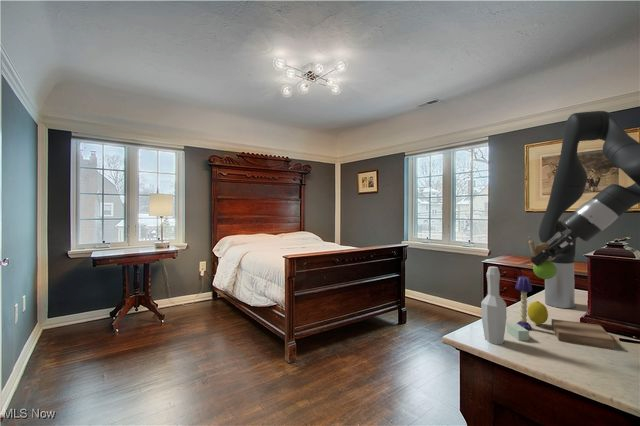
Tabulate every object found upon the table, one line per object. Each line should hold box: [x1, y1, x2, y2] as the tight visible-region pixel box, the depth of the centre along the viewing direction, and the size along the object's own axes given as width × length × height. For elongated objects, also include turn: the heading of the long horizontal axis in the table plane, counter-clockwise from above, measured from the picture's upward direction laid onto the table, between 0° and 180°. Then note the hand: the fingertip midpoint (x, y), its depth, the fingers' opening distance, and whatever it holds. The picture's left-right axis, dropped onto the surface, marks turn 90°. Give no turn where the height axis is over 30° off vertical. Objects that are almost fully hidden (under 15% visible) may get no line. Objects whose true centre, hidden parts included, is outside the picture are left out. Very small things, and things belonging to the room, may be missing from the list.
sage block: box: [506, 322, 530, 341], centre depth 93 cm, size 6×3×3 cm, turn 178°
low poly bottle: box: [480, 266, 508, 345], centre depth 90 cm, size 6×6×22 cm
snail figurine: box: [528, 235, 557, 280], centre depth 86 cm, size 5×6×12 cm
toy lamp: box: [514, 275, 533, 331], centre depth 98 cm, size 5×5×17 cm
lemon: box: [527, 300, 549, 326], centre depth 100 cm, size 6×6×8 cm
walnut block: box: [551, 318, 615, 350], centre depth 91 cm, size 12×12×3 cm
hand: (533, 262), depth 87 cm, fingers closed on snail figurine
